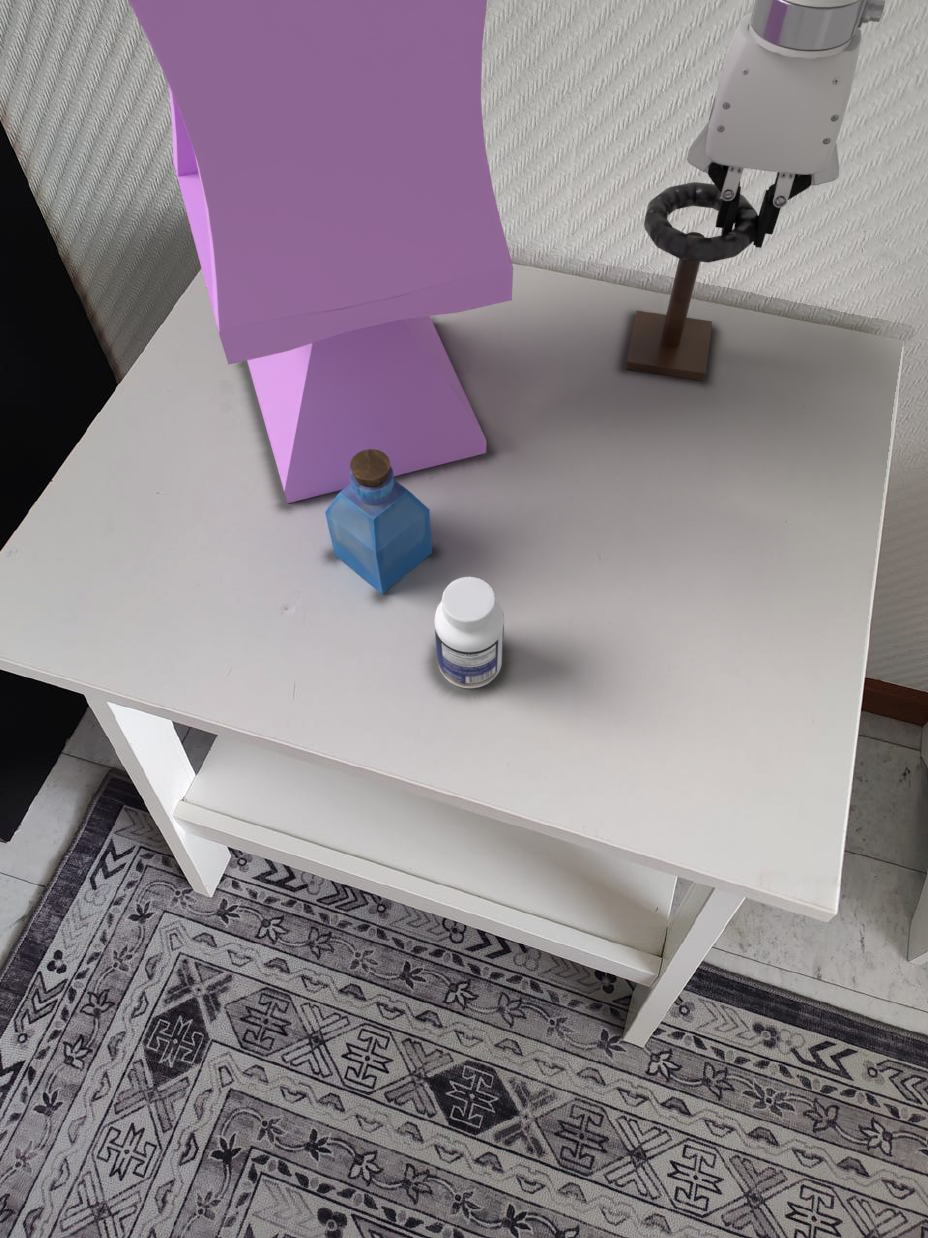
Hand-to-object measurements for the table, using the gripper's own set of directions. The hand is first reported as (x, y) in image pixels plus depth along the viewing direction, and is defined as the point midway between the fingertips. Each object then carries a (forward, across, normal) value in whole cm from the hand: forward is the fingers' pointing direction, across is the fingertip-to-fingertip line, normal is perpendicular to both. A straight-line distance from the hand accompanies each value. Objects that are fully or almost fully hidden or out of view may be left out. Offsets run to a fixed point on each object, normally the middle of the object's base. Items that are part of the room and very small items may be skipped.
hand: (741, 234), depth 80 cm
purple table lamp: (+14, +33, +15) cm, 39 cm away
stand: (+14, +4, 0) cm, 15 cm away
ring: (-1, +4, 0) cm, 4 cm away
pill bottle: (+14, +16, +41) cm, 46 cm away
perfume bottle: (+14, +26, +32) cm, 44 cm away
